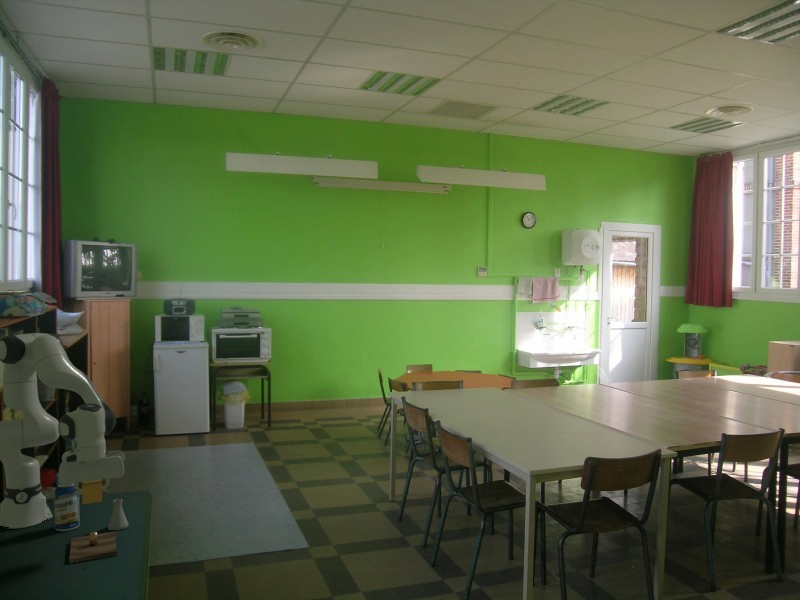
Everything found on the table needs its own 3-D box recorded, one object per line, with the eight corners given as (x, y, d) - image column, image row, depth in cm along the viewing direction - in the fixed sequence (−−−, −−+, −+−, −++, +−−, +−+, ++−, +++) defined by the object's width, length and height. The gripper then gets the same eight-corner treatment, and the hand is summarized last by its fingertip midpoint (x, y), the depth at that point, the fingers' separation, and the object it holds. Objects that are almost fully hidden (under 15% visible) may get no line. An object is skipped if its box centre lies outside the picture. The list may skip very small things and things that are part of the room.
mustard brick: (82, 498, 220) (82, 481, 220) (102, 495, 223) (102, 478, 223) (82, 504, 215) (82, 486, 215) (102, 501, 217) (102, 483, 217)
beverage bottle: (85, 523, 242) (83, 470, 241) (71, 532, 234) (70, 477, 233) (63, 522, 243) (62, 469, 242) (49, 531, 234) (47, 476, 234)
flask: (128, 529, 236) (128, 502, 236) (107, 532, 233) (106, 505, 233) (129, 522, 243) (128, 496, 243) (108, 525, 240) (107, 498, 240)
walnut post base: (71, 542, 224) (71, 527, 224) (115, 535, 230) (115, 520, 230) (69, 563, 208) (68, 546, 208) (116, 555, 214) (116, 539, 214)
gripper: (124, 446, 225) (125, 486, 226) (58, 454, 217) (59, 494, 217) (125, 451, 219) (126, 491, 220) (57, 458, 211) (58, 500, 211)
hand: (92, 493), depth 218 cm, fingers closed on mustard brick, 6 cm apart
